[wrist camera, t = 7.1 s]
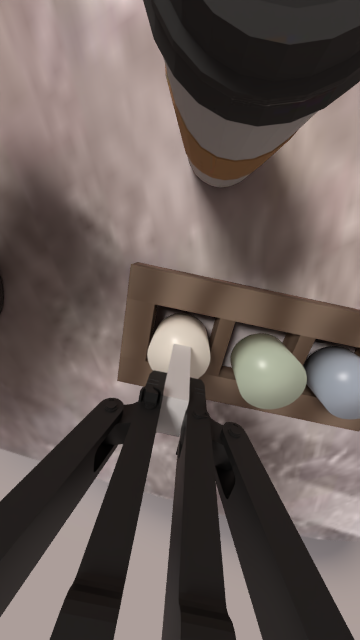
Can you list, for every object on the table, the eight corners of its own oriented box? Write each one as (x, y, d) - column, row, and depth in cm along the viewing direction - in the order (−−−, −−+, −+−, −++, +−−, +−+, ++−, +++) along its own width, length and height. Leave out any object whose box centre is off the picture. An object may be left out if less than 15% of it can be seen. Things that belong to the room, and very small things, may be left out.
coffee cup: (277, 189, 18) (543, 6, 4) (184, 210, 20) (160, 119, 5) (271, 65, 16) (895, -1388, 2) (165, 98, 17) (20, -648, 3)
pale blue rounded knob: (293, 385, 23) (313, 412, 19) (314, 341, 21) (340, 361, 17) (342, 395, 23) (371, 424, 19) (367, 352, 21) (405, 375, 17)
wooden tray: (124, 368, 26) (117, 380, 23) (137, 262, 21) (130, 264, 19) (344, 414, 26) (358, 431, 24) (402, 318, 22) (427, 327, 19)
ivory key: (151, 355, 23) (143, 376, 19) (160, 308, 21) (152, 321, 17) (200, 365, 23) (202, 389, 19) (213, 319, 21) (217, 335, 17)
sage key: (224, 375, 22) (230, 402, 18) (239, 328, 20) (249, 347, 16) (275, 386, 22) (291, 414, 18) (295, 340, 20) (317, 361, 16)
